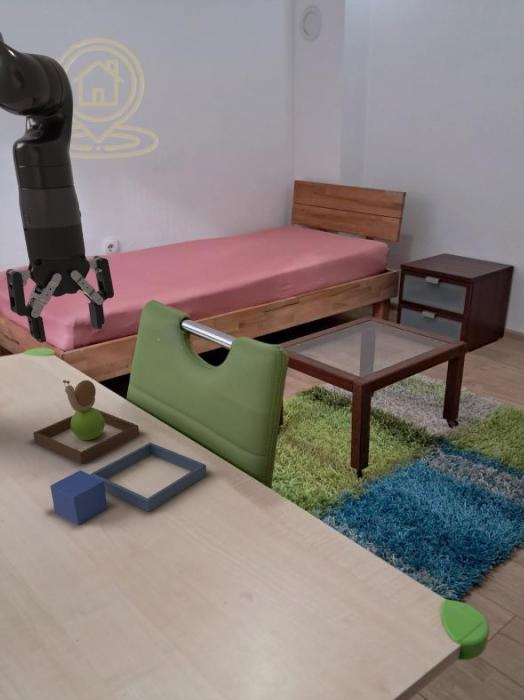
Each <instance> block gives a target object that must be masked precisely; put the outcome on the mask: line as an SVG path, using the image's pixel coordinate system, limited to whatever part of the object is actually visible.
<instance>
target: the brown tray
mask: <svg viewBox="0 0 524 700" xmlns="http://www.w3.org/2000/svg"><path fill="white" fill-rule="evenodd" d="M91 408H93V409H96V410H97V411H99V412H100V413H101V414H102V416H103V418H104V422H105V425H108V426H111V427H114V428H115V429H119V430H120V432H117V433H116V434H114V435H112V436H110V437H108V438H106V439H104V440H102V441H99V442H97V443H96V444H94V445H92V446H90V447H88V448H85V449H83V450H82V451H80V450H78V449H75V448H73V447H71V446H69V445H66V444H64V443H63V442H60V441H57V440H56V439H53V438H52V437H55V436H57V435H59V434H61V433H63V432H66V431H67V430H69V429H70V430H71V419H72V416H73V415H71V416H68V417H66V418H63V419H61V420H59V421H57V422H54V423H52V424H50V425H47V426H45V427H42V428H41V429H38V430H36V431H34V432H32V434H33V439H34V443H35V444H38V445H39V446H42V447H43V448H45V449H48V450H50V451H53V452H55V453H57V454H58V455H61V456H63V457H65V458H67V459H70V460H72V461H74V462H76V463H78V464H81V465H83V464H85V463H87V462H90V461H91V460H93V459H95V458H97V457H99V456H101V455H103V454H105V453H107V452H109V451H111V450H113V449H115V448H117V447H118V446H121V445H123V444H125V443H126V442H129V441H131V440H133V439H134V438H136V437H138V436H140V430H139V429H140V428H139V424H137V423H133V422H131V421H129V420H126V419H123V418H121V417H119V416H115V415H113V414H110V413H108V412H105V411H102V410H100V409H98V408H95V407H93V406H92V407H91Z"/></svg>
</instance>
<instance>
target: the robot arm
mask: <svg viewBox="0 0 524 700" xmlns="http://www.w3.org/2000/svg"><path fill="white" fill-rule="evenodd" d="M0 109H1V110H3V111H5V112H7V113H9V114H11V115H14V116H18V117H25V132H24V134H23V136H21V137H19V138H18V139H16V140H15V141H14V142H13V144H12V148H11V149H12V151H11V152H12V161H13V165H14V170H15V177H16V183H17V189H18V205H19V207H18V208H19V211H20V212H19V213H20V217H21V223H22V229H23V230H22V231H23V235H24V236H23V237H24V241H25V246H26V247H25V248H26V251H27V252H26V253H27V258H28V263H29V264H28V267H27V269H18V270H15V269H13V268H9V269H7V270H6V272H5V275H6V282H7V291H8V299H9V300H8V301H9V307H10V311H11V312H13V313H14V314H16V315H17V316H20V317H26V318H27V324H28V328H29V334H30V336H31V337H32V338H33V339H35V340H36V341H37V342H38V343H40V344H42V343H46V342H47V338H46V331H45V324H44V319H43V316H41V314H42V312H43V310H44V308H45V307H46V305H48V304H49V302H50V300H51V298H52V297H54V298H59V297H63V296H65V295H66V294H67V295H75V294H77V293H78V292H80V293H81V294H82V295H83V296H84V297H85V298H86V299H87V300H88V301H89V302H88V303H87V305H88V311H89V318H90V319H89V320H90V325H91V327H92V328H93V329H95V330H97V331H98V330H102V329H103V325H104V324H105V321H106V320H105V313H104V307H103V306H104V303H105V301H107V300H108V299H112V298H114V296H115V291H114V284H113V280H112V273H111V268H110V263H109V259H107V258H105V257H102V256H99V255H94V256H93V258H91V259H87V257H86V246H85V245H86V244H85V240H84V239H85V238H84V232H83V231H84V230H83V224H82V211H81V209H80V204H79V198H78V195H77V192H76V187H75V181H74V174H73V168H72V159H71V151H70V150H71V149H70V148H71V142H72V132H73V119H74V93H73V89H72V84H71V82H70V79H69V76H68V73H67V72H66V70H65V69H64V67H63V66H62V64H61V63H59V62H58V61H57V60H56V59H55V58H53V57H50V56H48V55H45V54H38V53H30V52H21V51H19V50H16V49H15V48H13V47H12V46H10V45H8V44H7V43H6V42H5V39H4V36H3V33H2V32H1V31H0ZM90 269H91V272H92V273H95V278H96V282H97V287H98V290H97V291H96V289H95V287H93V286H92V285H91V284H90V283H89V282H88V281H87V280H86V278H87V276H88V274H89V273H90ZM29 279H30V280H31V281H32V282H33V283H35V284H34V286H33V288H32V290H31V292H30V295H29V296H30V297H29V299H28V301H27V303H26V298H25V291H24V290H25V287H26V286H27V284H28V280H29Z"/></svg>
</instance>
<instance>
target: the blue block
mask: <svg viewBox="0 0 524 700" xmlns="http://www.w3.org/2000/svg"><path fill="white" fill-rule="evenodd" d="M90 474H91V473H90ZM90 474H89V473H88V472H86V471H83V470H82V469H79V470H78V471H75V472H74V473H72V474H70V475H68V476H66V477H64V478H61V479H60V480H58V481H56V482H54V483H52V484H50V491H51V497H52V503H53V510H54V513H55V514H57V515H59V516H61V517H63V518H64V519H67V520H68V521H70V522H72V523H73V524H76V525H77V526H79V525H80V524H82V523H84V522H85V521H87V520H89V519H91V518H93V517H94V516H96V515H97V514H99V513H101V512H103V511H104V510H106V509H108V502H107V494H106V493H107V492H105V486H104V481H103V480H101V479H98V478H96V477H94V476H92V475H90Z"/></svg>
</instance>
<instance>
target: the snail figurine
mask: <svg viewBox="0 0 524 700" xmlns="http://www.w3.org/2000/svg"><path fill="white" fill-rule="evenodd" d="M62 383H63V384H66V385H67V386H66V385H64V387H65V388H64V391H65V394H66V396H67V401H68V402H69V405H70V407H71V408H72V409H73V410H74V413H73V415H71V416H72V419H71V428H70V430H71V431H72V433H73V435H74V436H76V437H77V438H79V439H80V440H83V441H91V440H94V439H96V438H98V437H100V435H101V434H103V432H104V430H105V425H106V423H105V422H104V418H103V416H102V414H101V413H100V412H99V411H97V410H98V409H97V408H95V409H93V408H94V405H95V402H96V391H97V390H96V385H95V384H94V383H93V382H92V381H91V380H88V379H83V380H80V381H79V382H78V383H77V384H76V386H75V387H74V386H72V385H70V383H71V381H70V380H66V379H63V380H62ZM91 407H92V408H91ZM96 409H97V410H96Z"/></svg>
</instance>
